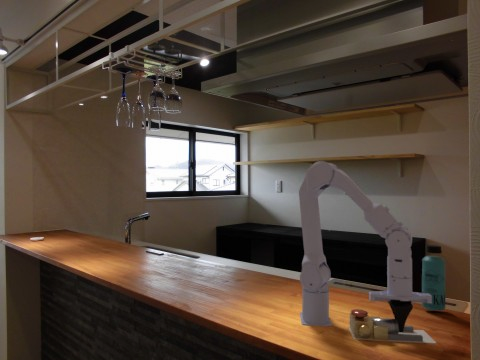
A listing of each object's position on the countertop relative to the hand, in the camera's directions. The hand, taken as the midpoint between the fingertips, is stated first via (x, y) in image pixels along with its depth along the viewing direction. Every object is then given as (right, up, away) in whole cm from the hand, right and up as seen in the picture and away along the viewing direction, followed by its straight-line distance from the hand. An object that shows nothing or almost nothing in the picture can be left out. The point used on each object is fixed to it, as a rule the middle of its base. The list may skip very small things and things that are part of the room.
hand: (400, 330), depth 91 cm
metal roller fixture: (-3, -1, 0) cm, 3 cm away
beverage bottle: (+18, -2, +18) cm, 26 cm away
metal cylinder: (-4, -1, 0) cm, 4 cm away
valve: (-8, -1, +1) cm, 8 cm away
